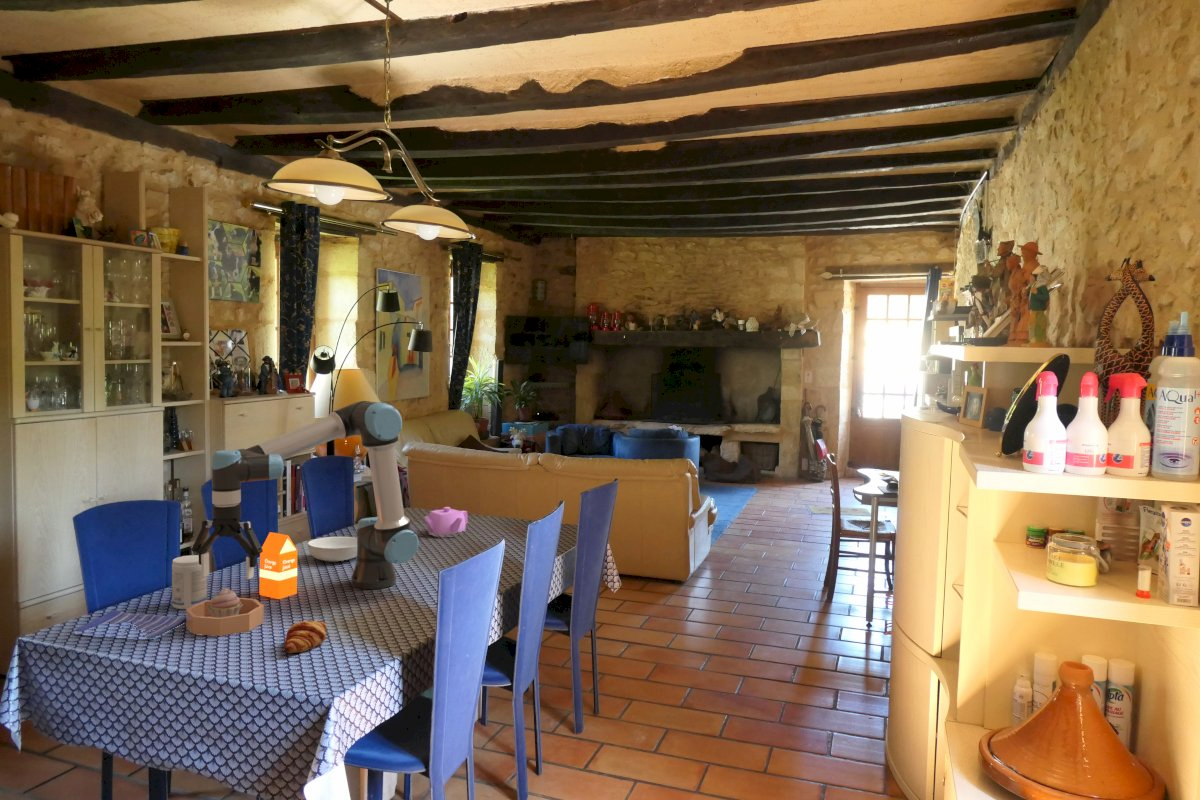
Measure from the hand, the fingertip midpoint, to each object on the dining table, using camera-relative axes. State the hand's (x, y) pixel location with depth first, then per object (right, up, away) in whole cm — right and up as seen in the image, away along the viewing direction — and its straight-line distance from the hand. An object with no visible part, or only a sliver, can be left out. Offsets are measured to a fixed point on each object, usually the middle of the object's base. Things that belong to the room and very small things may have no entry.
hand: (227, 576), depth 235 cm
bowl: (-1, -14, 0) cm, 14 cm away
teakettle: (+39, -9, +127) cm, 133 cm away
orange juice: (+2, -13, +31) cm, 34 cm away
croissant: (+27, -16, -12) cm, 34 cm away
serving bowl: (+6, -10, +78) cm, 79 cm away
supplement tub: (-19, -13, +16) cm, 28 cm away
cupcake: (-1, -13, 0) cm, 13 cm away
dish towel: (-25, -14, -5) cm, 29 cm away
